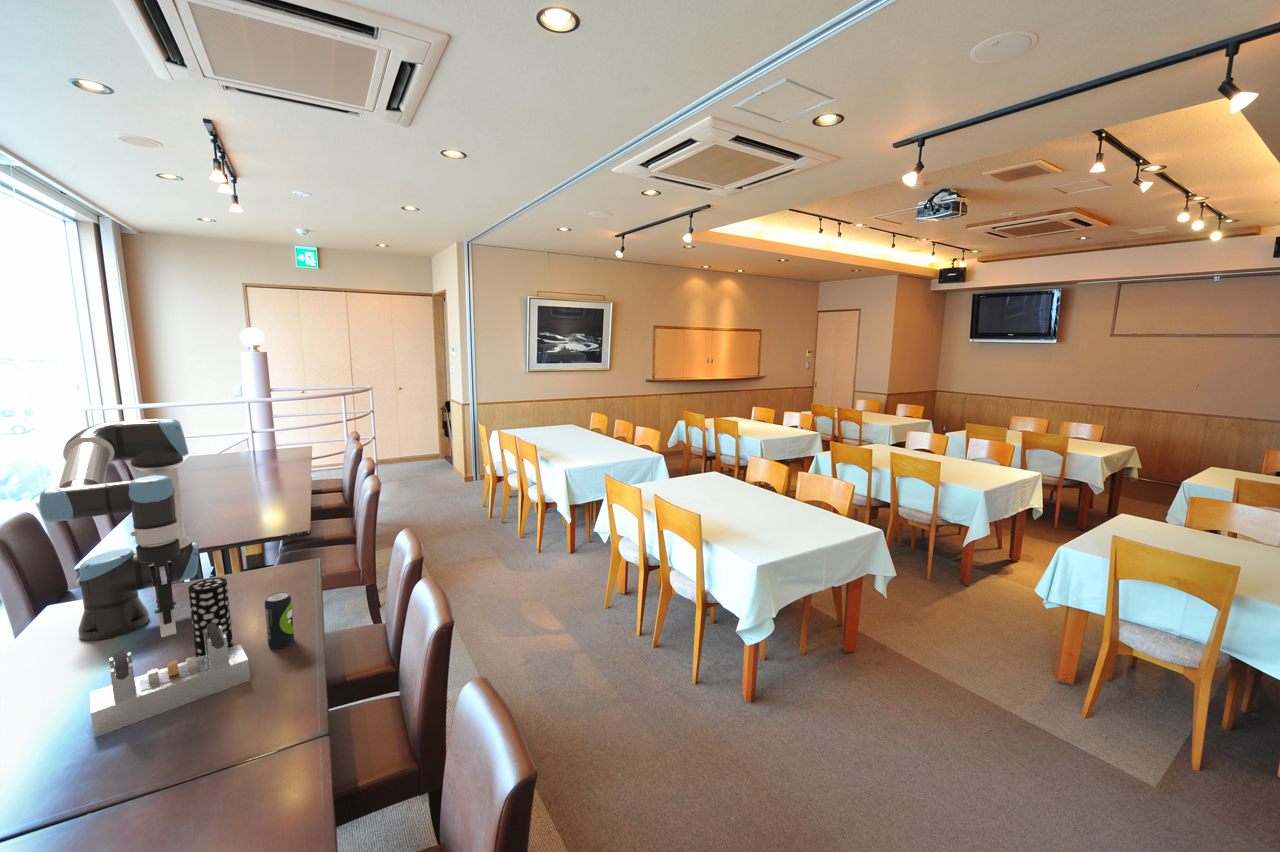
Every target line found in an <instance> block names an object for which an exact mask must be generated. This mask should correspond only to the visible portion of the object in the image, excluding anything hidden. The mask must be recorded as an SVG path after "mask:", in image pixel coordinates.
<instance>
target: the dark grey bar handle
mask: <svg viewBox="0 0 1280 852" xmlns="http://www.w3.org/2000/svg"><path fill="white" fill-rule="evenodd" d="M127 658H128V655H127V651H126V649H125V648H119V649H116V650H115V651H114V654H113V661H114V662H115V670H116V678H117V679H119V680H122V679H125V678H126V677H127V676H128V674H129V671H128V664H127Z"/></svg>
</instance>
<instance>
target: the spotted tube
mask: <svg viewBox="0 0 1280 852" xmlns="http://www.w3.org/2000/svg"><path fill="white" fill-rule="evenodd" d="M187 589H188V598H189V609H190V614H191V615H190V617H191V625H192V634H193V642H194V643H193V645H194V651H195V654H194V655H195V657H196V658H198V657H202V656H205V655H206V651H205V641H204V632H203V631H204V630H207V629H206V626H207V625H208V624H209V623H215V624H216V626H217V628H218V626H222V630H223V635H224V634H225V635H226V637H227V646H228V648H230V647H233V646H234V641H233V640H234V639H233V632H232V631H233V629H232V621H231V611H230V601H229V589H228V580H227V578H226V577H212V578H206V579H202V580H199V581H196V582H194V583H192V584H191V585H189V586H188V588H187ZM207 633H208V631H207ZM208 634H209V633H208Z"/></svg>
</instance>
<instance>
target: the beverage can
mask: <svg viewBox="0 0 1280 852" xmlns="http://www.w3.org/2000/svg"><path fill="white" fill-rule="evenodd" d="M264 609H265V611H264V612H265V622H266V632H267V643H268V644H267V645H268V647H269V648H271V649H273V650H280V649H284V648H286V647H288V646H290V645H291V644H292V643H293V641H294V640H295V632H294V631H295V630H294V620H293V607H292V597H291V594H290V592H288V591H277V592H274V593H271V594H269V595H268V596H266V597H265V601H264Z"/></svg>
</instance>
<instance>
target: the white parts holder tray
mask: <svg viewBox="0 0 1280 852" xmlns="http://www.w3.org/2000/svg"><path fill="white" fill-rule="evenodd" d="M218 630H219V632H220V635H221V637H222V639H223V641H224V646H223V647H222V648H220V649H216V648H215V647H214V645H213V643H212V641H211V638H210V636H209V634H208V633H207V630H204V631H203V632H204V641H205V651H206V655H205V656H202V657H196V655H193V656H191V657H187V658H185V661H184V662H180V663H178V672H179V673H178V674H175V675H172V676H169V675H168V669H167V667H165V668H161V669H158V667H156V668H152V669H151V670H150V669H149V670H147V673H145V674H143V675H140V676H137V677H135V670H134V665H133V664H134V663H133V657H132V652H131V651H129V652H126V655H127V664H128V671H129V674H128V676H127V677H126V678H125V679H122V680H119V679H117V678H116V670H115V660H114V656H113V657H112V656H111V657H109V659H108V661H109V667H110V668H109V669H110V671H109V672H110V678H111V679H110V680H111V685H108V686H106V687H101V688H99V689H95V690H92V691H90V694H89V695H90V716H91V723H92V730H93V737H94V738H97V737H100V736H102V735H105V734H108V733H110V732H114V731H116V730H119V729H122V728H125V727H127V726H129V725H130V726H131V725H133V724H136V723H137V722H141V721H144V720H146V719H149V718H152V717H154V716H156V715H160V714H162V713H166V712H168V711H171V710H174V709H176V708H179V707H181V706H184V705H187V704H190V703H193V702H195V701H199V700H202V699H203V698H207V697H209V696H212V695H214V694H218V693H220V692H223V691H226V690H228V689H231V688H233V687H236V686H239V685H241V684H242V685H243V684H245V683H247V682H250V681H251V675H250V667H249V658H248V657H247V655H246V652H245V651H244V649H243V647H242V645H241V644H240V643H239V644H236V645H233V647H230V648H228V646H227V637H226V635H225V634H224V635H223V630H222V626H218Z"/></svg>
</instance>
